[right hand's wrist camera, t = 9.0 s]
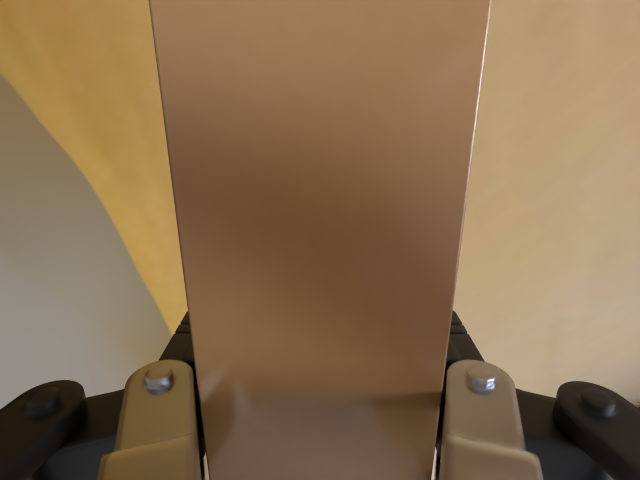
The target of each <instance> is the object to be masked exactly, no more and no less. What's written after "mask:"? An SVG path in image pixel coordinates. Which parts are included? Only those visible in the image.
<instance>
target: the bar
mask: <svg viewBox="0 0 640 480" xmlns="http://www.w3.org/2000/svg"><path fill="white" fill-rule="evenodd" d="M491 4H492V0H149V6H150V14H151V22H152V29H153V37H154V45H155V53H156V61H157V69H158V77H159V85H160V93H161V100H162V108H163V116H164V124H165V132H166V140H167V148H168V156H169V164H170V172H171V179H172V187H173V195H174V203H175V211H176V219H177V227H178V235H179V243H180V250H181V258H182V266H183V274H184V282H185V290H186V298H187V306H188V314H189V321H190V329H191V337H192V345H193V353H194V361H195V369H196V377H197V385H198V393H199V400H200V408H201V416H202V424H203V432H204V440H205V448H206V456H207V464H208V471H209V479H210V480H431V476H432V468H433V460H434V452H435V444H436V436H437V428H438V421H439V413H440V405H441V397H442V389H443V381H444V373H445V366H446V358H447V350H448V342H449V334H450V326H451V318H452V311H453V303H454V295H455V287H456V279H457V271H458V263H459V256H460V248H461V240H462V232H463V224H464V216H465V208H466V201H467V193H468V185H469V177H470V169H471V161H472V153H473V146H474V138H475V130H476V122H477V114H478V106H479V99H480V91H481V83H482V75H483V67H484V59H485V51H486V44H487V36H488V28H489V20H490V12H491Z"/></svg>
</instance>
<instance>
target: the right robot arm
mask: <svg viewBox="0 0 640 480" xmlns="http://www.w3.org/2000/svg"><path fill="white" fill-rule="evenodd" d="M435 447H436V450H437V454H436V461H435V472H434V480H640V409H638V408H637V407H635V406H634V405H633V404H631V403H630V402H629V401H627V400H626V399H624V398H623V397H622V396H620V395H618V394H617V393H615V392H613V391H611V390H609V389H607V388H605V387H602V386H599V385H596V384H593V383H588V382H581V381H572V382H567V383H564V384H563V385H561V386H560V387H559V389H558V391H557V395H556V398H553V397H548V396H544V395H539V394H534V393H530V392H526V391H522V390H519V389H517V388H515V385H514V382H513V380H512V379H511V377H510V376H509V375H508V374H507V373H506V372H505V371H503V370H502V369H500V368H498V367H497V366H495V365H492V364H490V363H487V362H485V361H484V360H483V358H482V356H481V354H480V353H479V351H478V349H477V348H476V346H475V344H474V343H473V341H472V339H471V338H470V336H469V334H467V331H466V329H465V327H464V326H463V325H462V322H461V321H460V319H459V317H458V316H457V314H456V312H454V311H452V318H451V326H450V334H449V342H448V350H447V358H446V366H445V373H444V381H443V389H442V397H441V405H440V413H439V421H438V428H437V436H436V444H435ZM205 452H206V448H205V440H204V432H203V424H202V416H201V408H200V400H199V393H198V385H197V377H196V369H195V361H194V353H193V345H192V337H191V329H190V321H189V314H188V312H187V313H186V314H185V316H184V318H183V320H182V321H181V325H179V326H178V328H177V330H176V331H175V334H174V335H173V337H172V338H171V340H170V342H169V344H168V345H167V347H166V349H165V350H164V352H163V354H162V355H161V357H160V359H159V361H157V362H153V363H150V364H148V365H146V366H143V367H142V368H140V369H138V370H137V371H135V372H134V373H133V374H132V375H131V376H130V378H129V379H128V380H127V382H126V385H125V389H122V390H119V391H115V392H110V393H106V394H101V395H97V396H92V397H87V398H86V397H85V393H84V389H83V387H82V386H81V384H79V383H77V382H75V381H70V380H59V381H53V382H48V383H45V384H42V385H39V386H36V387H34V388H32V389H30V390H28V391H26V392H24V393H23V394H21V395H20V396H18V397H17V398H16V399H14V400H13V401H11V402H10V403H9V404H7V405H6V406H5V407H3V408H2V409H0V480H206V471H205V461H204V455H205Z"/></svg>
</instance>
